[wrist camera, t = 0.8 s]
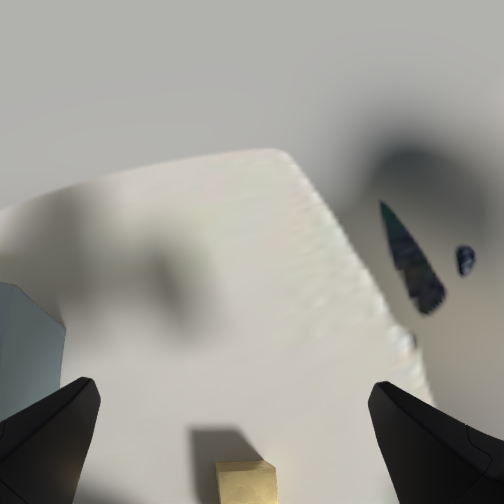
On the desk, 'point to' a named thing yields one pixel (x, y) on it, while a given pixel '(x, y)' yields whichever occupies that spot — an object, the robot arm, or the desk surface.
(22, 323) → the blue-grey open box
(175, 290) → the desk surface
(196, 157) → the desk surface
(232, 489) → the tan rectangular block
